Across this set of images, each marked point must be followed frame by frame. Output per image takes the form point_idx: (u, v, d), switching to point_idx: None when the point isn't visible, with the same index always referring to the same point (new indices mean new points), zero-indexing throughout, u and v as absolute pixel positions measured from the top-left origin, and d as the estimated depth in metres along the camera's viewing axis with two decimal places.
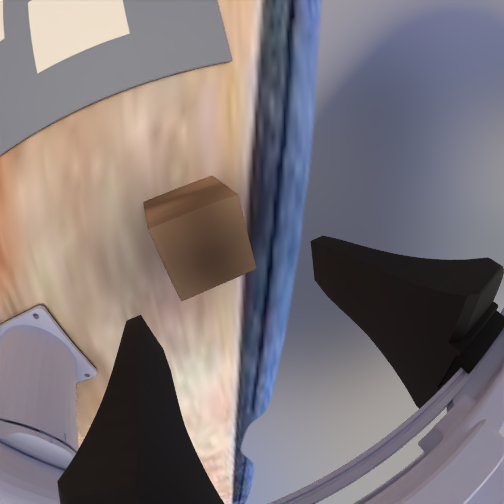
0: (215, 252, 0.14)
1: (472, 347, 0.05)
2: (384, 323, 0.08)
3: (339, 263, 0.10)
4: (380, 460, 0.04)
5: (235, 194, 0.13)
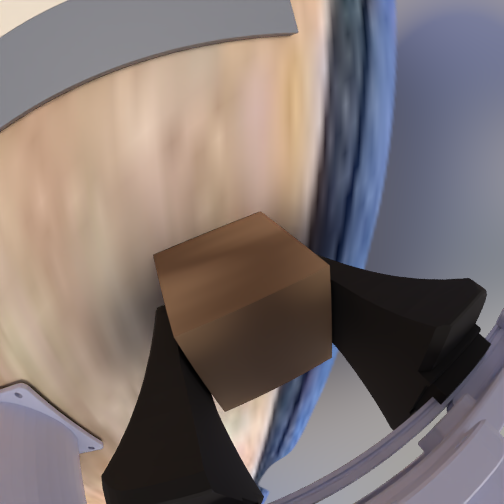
0: (283, 352, 0.09)
1: (445, 376, 0.05)
2: (355, 343, 0.08)
3: None
4: (380, 460, 0.04)
5: (325, 265, 0.08)
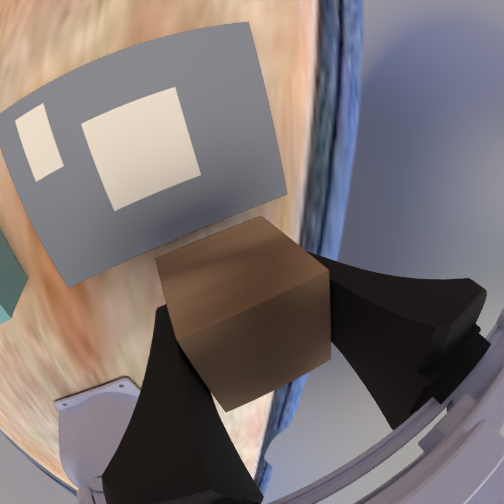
0: (283, 354, 0.09)
1: (445, 376, 0.05)
2: (355, 343, 0.08)
3: None
4: (380, 460, 0.04)
5: (324, 270, 0.08)
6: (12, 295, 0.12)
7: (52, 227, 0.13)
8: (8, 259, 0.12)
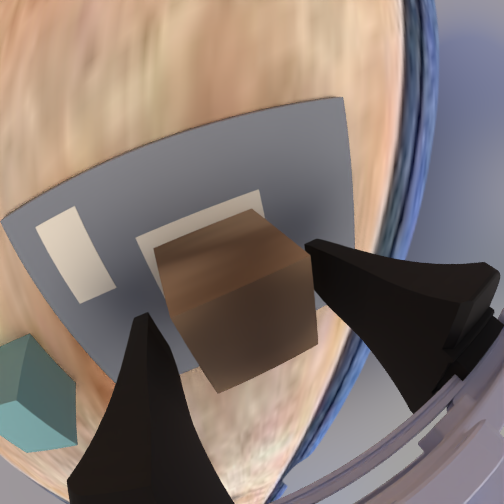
0: (270, 336, 0.09)
1: (466, 354, 0.05)
2: (377, 327, 0.08)
3: (332, 266, 0.10)
4: (380, 460, 0.04)
5: (306, 255, 0.09)
6: (70, 417, 0.10)
7: (106, 347, 0.12)
8: (54, 375, 0.11)
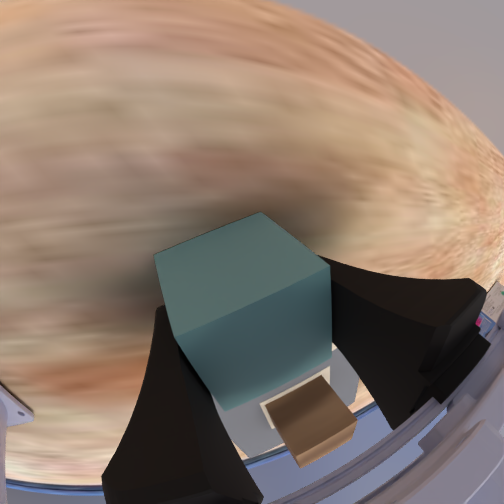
0: (323, 450, 0.15)
1: (446, 376, 0.05)
2: (355, 343, 0.08)
3: None
4: (380, 460, 0.04)
5: (350, 437, 0.17)
6: None
7: None
8: None
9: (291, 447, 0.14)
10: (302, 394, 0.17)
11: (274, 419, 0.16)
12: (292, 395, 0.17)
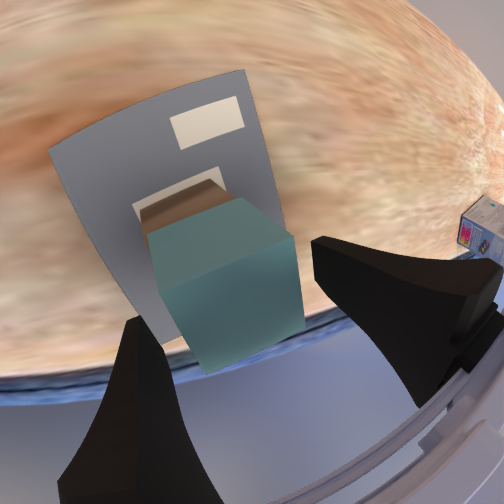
0: None
1: (472, 347, 0.05)
2: (384, 323, 0.08)
3: (339, 263, 0.10)
4: (380, 460, 0.04)
5: None
6: None
7: (118, 134, 0.13)
8: None
9: (144, 234, 0.12)
10: (181, 193, 0.15)
11: (142, 217, 0.14)
12: (170, 197, 0.15)
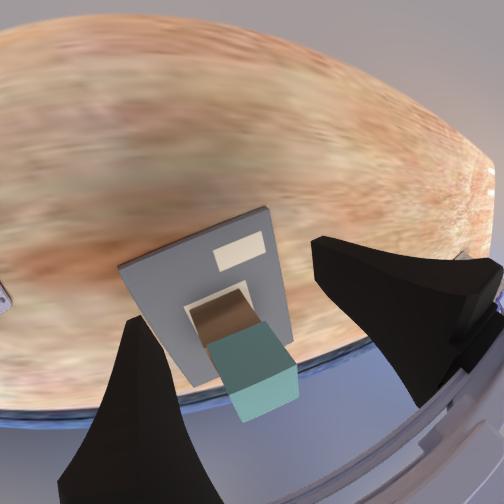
0: None
1: (472, 347, 0.05)
2: (384, 323, 0.08)
3: (339, 263, 0.10)
4: (380, 460, 0.04)
5: None
6: None
7: (174, 262, 0.20)
8: None
9: (202, 341, 0.19)
10: (220, 302, 0.22)
11: (193, 320, 0.21)
12: (212, 303, 0.22)
